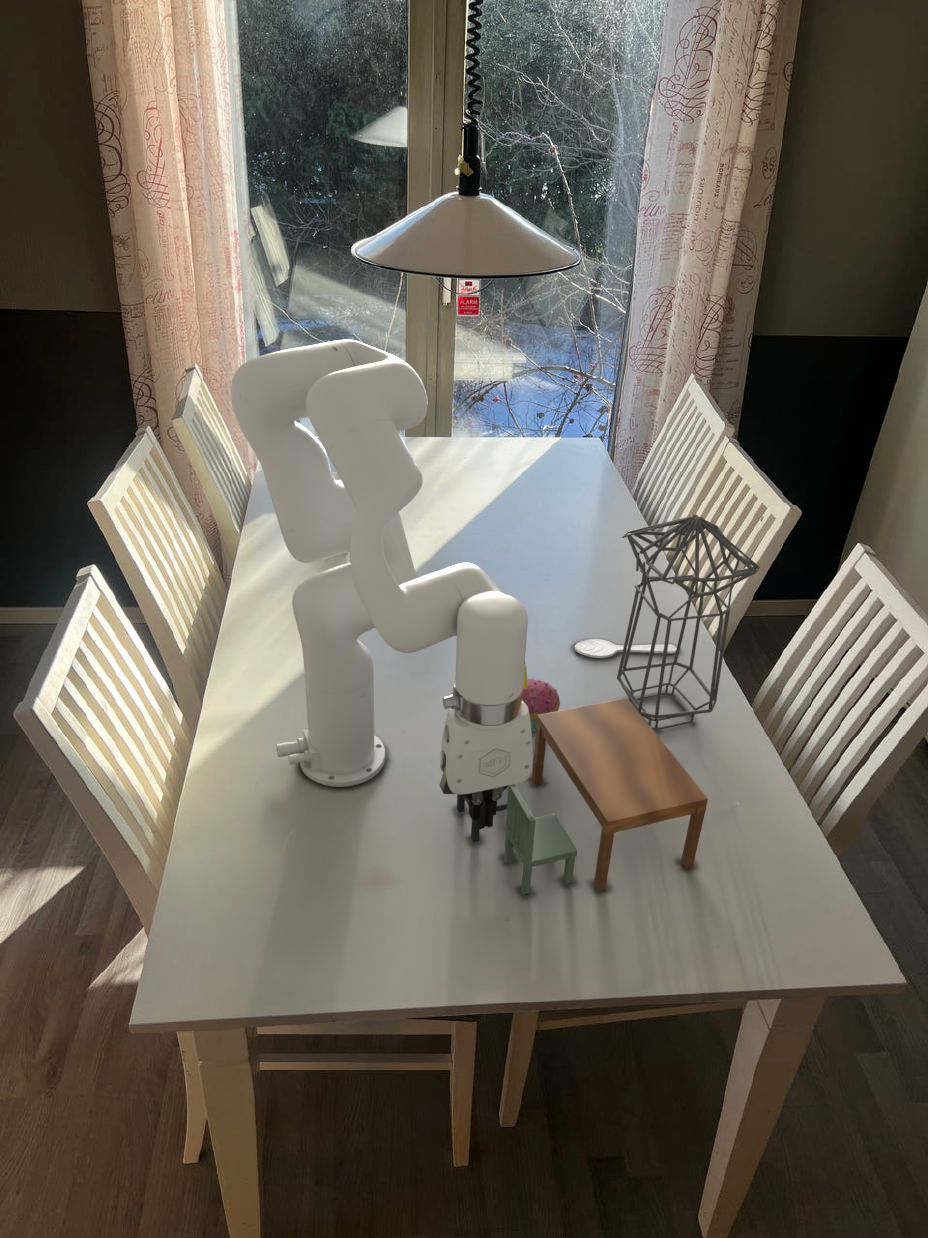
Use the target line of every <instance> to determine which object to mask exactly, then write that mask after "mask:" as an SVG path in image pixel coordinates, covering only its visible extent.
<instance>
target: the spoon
mask: <svg viewBox="0 0 928 1238" xmlns="http://www.w3.org/2000/svg"><path fill="white" fill-rule="evenodd" d="M664 644H665V643H656V644H655V649H654V653H653V654H663V651H664ZM651 645H652V643H650V644H648V643H647V644H646V643H645V644H632V646H631V650H630V653H645V654H647V653H648V654H650V650H651ZM623 648H624V644H615V643H613V642H611V641H609V640H607V639H603V638H588V639H583V640H581V641H578V642H576V643H575V645H574V650H575V652H576V653H578V654H580V655H582V656H585V657H589V658H594V659H605V658H610V657H613V656H614V655H616V653H620V652H621V653H622V652H623ZM627 648H628V645H627ZM676 649H677V646H676V645H674V644H673V643H668V649H667V654H675V653H676ZM626 652H627V649H626Z"/></svg>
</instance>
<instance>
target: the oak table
mask: <svg viewBox="0 0 928 1238" xmlns="http://www.w3.org/2000/svg"><path fill="white" fill-rule="evenodd" d="M648 723H649V722H647V720H646V718H645V717H643V716H641V714H640V713H639V712H638V711H637V709H636V708H635V707H634V706H633V704H632V702H630V701H629V697H624V698H618V699H614V700H608V701H603V702H598V703H594V704H593V703H592V704H589V705H588V704H587V705H583V706H577V707H573V708H567V709H563V710H558V711H557V712H551V713H546V714H541V715H538V716H537V727H536V732H535V737H534V738H535V739H534V749H533V758H532V771H531V782H532V783H533V786H538V785H542V784H543V777H544V766H545V757H546V749H547V748H546V747H547V744H548V746H549V748H550V749H551V751H552V752H553V754H554V756H555V757H556V758H557V760H558V762H559V763H560V765H561V767H563V769H564V771H565V772H566V774H567V776H568V777H569V779H570V780H571V782H572V784H573V785H574V786H575V788H576V789H577V791H578V792H579V794H580V796H581V798H583V800H584V802H585V804H586V805H587V806H588V808H589V809H590V811H591V813H592V814H593V816H594V817H595V819H596V820H597V822H598V823H599V825H600V826H601V833H600V838H599V839H600V840H599V846H598V852H597V859H596V864H595V865H596V866H595V873H594V880H593V886H594V887H595V889H596V891H597V892H598V891H602V890H606V889H607V883H608V876H609V869H610V864H611V859H612V858H611V857H612V851H613V845H614V838H615V833H619V832H624V831H628V830H632V829H636V828H640V827H644V826H648V825H652V824H657V823H662V822H665V821H669V820H673V819H677V818H683V817H686V816H690V817H689V822H688V826H687V831H686V836H685V842H684V845H683V850H682V855H681V859H680V863H681V865H682V866H683V867H684V869H689V868H692V867H694V864H695V860H696V854H697V850H698V845H699V842H700V837H701V833H702V827H703V823H704V819H705V814H706V810H707V805H708V800H709V798H708V797H707V795H706V794H705V793H704V791H703V790H702V789H701V788H700V787H699V786H698V785H697V783H696V782H695V781H694V779H693V778H692V777H691V776H690V774H689V773H688V771H687V770H686V769H685V768H684V767H683V766H682V765H681V763H680V762H679V760H678V759H677V757H676V756H674V754H673V753H672V752H671V750H670V749H669V748H668V747H667V745H666V744H665V743H664V741H663V740H662V739H661V738H660V737H659V736H658V734H657V733H656V732H655V730H653V729H652V728H653V727H652V726H649V724H648ZM651 727H652V728H651Z"/></svg>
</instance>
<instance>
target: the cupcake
mask: <svg viewBox="0 0 928 1238" xmlns="http://www.w3.org/2000/svg"><path fill="white" fill-rule="evenodd" d="M522 700H523V702H524V703H525V704H526V705H527V707H528V710H529V715H530V722H531V733H536V727H537V716H538V715H541V714H546V713H551V712H557V711H559V710H560V707H561V699H560V696H559V694H558V691H557V689H556V688H555V687H553V686H552V685H551V684H550V683H549V682H546V681H543V680H540V679H535V678H528V672H527V665H526V664H525V666H524V679H523V694H522Z"/></svg>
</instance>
